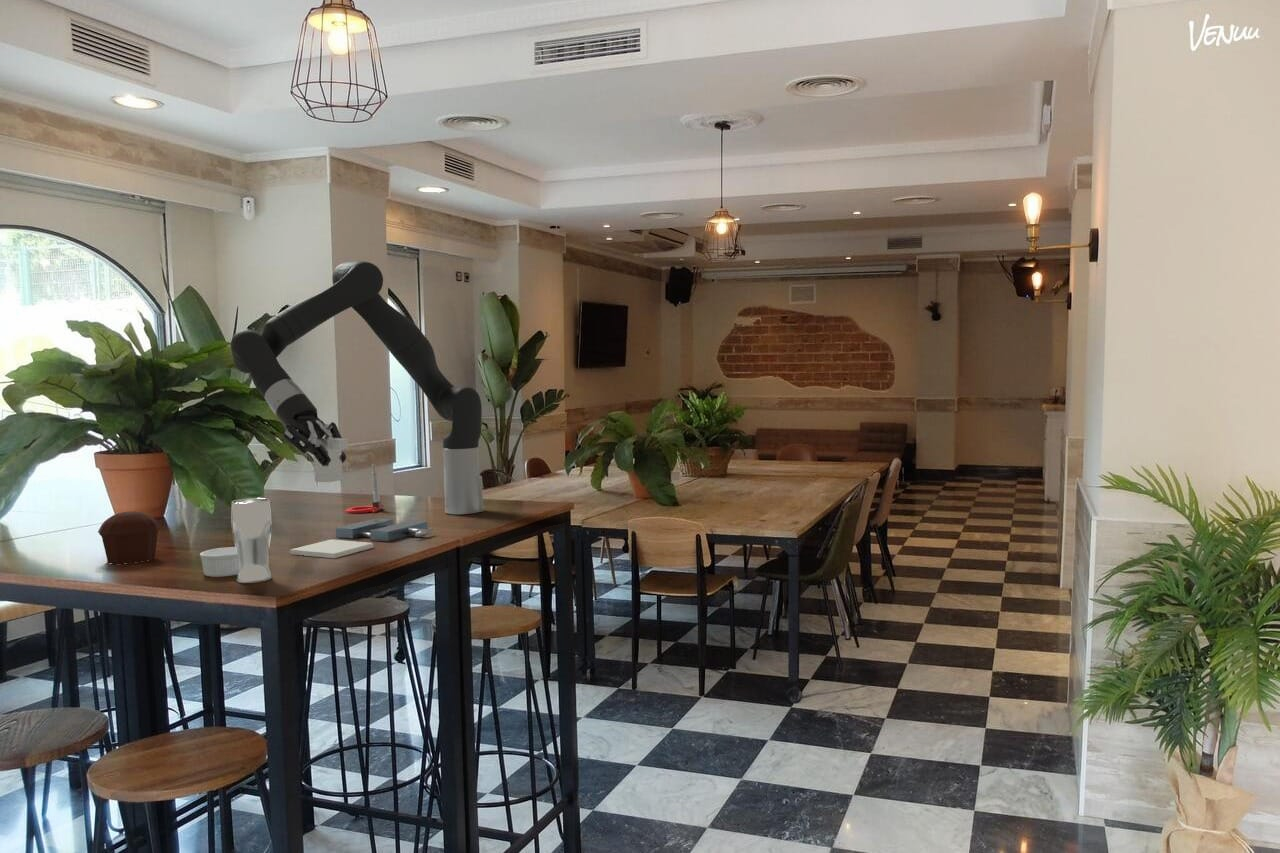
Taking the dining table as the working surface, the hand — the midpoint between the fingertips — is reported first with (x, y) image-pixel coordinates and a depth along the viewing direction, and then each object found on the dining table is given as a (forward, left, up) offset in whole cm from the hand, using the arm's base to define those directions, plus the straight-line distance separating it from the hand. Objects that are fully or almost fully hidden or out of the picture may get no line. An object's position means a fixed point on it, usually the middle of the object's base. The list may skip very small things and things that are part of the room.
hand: (335, 462), depth 205 cm
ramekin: (+23, +9, -20) cm, 31 cm away
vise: (-14, -13, -19) cm, 27 cm away
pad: (+1, -1, -19) cm, 19 cm away
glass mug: (+1, -1, -4) cm, 4 cm away
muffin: (+39, -15, -19) cm, 46 cm away
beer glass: (+19, +19, -19) cm, 33 cm away
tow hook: (-17, -53, -20) cm, 59 cm away
